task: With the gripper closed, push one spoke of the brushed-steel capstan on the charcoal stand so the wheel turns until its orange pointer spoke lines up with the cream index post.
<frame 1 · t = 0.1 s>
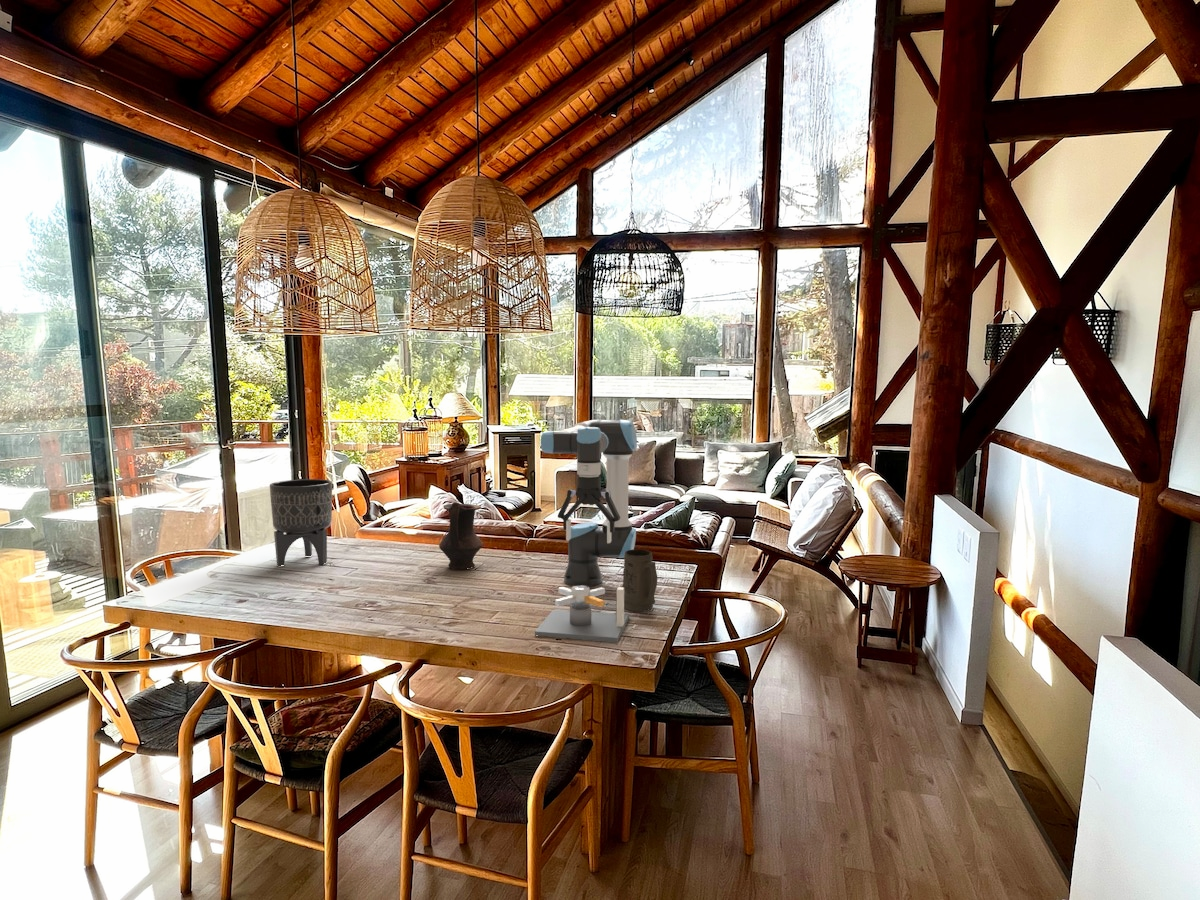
hand: (588, 541, 219), 28 cm above the table, tool pointing down, fingers open, 13 cm apart
capstan: (580, 597, 219), point 10 cm above the table, hinge at -35.0°
beer stein: (642, 608, 239), on the table
jug: (460, 568, 292), on the table
stand: (580, 626, 220), on the table
planter: (304, 562, 300), on the table
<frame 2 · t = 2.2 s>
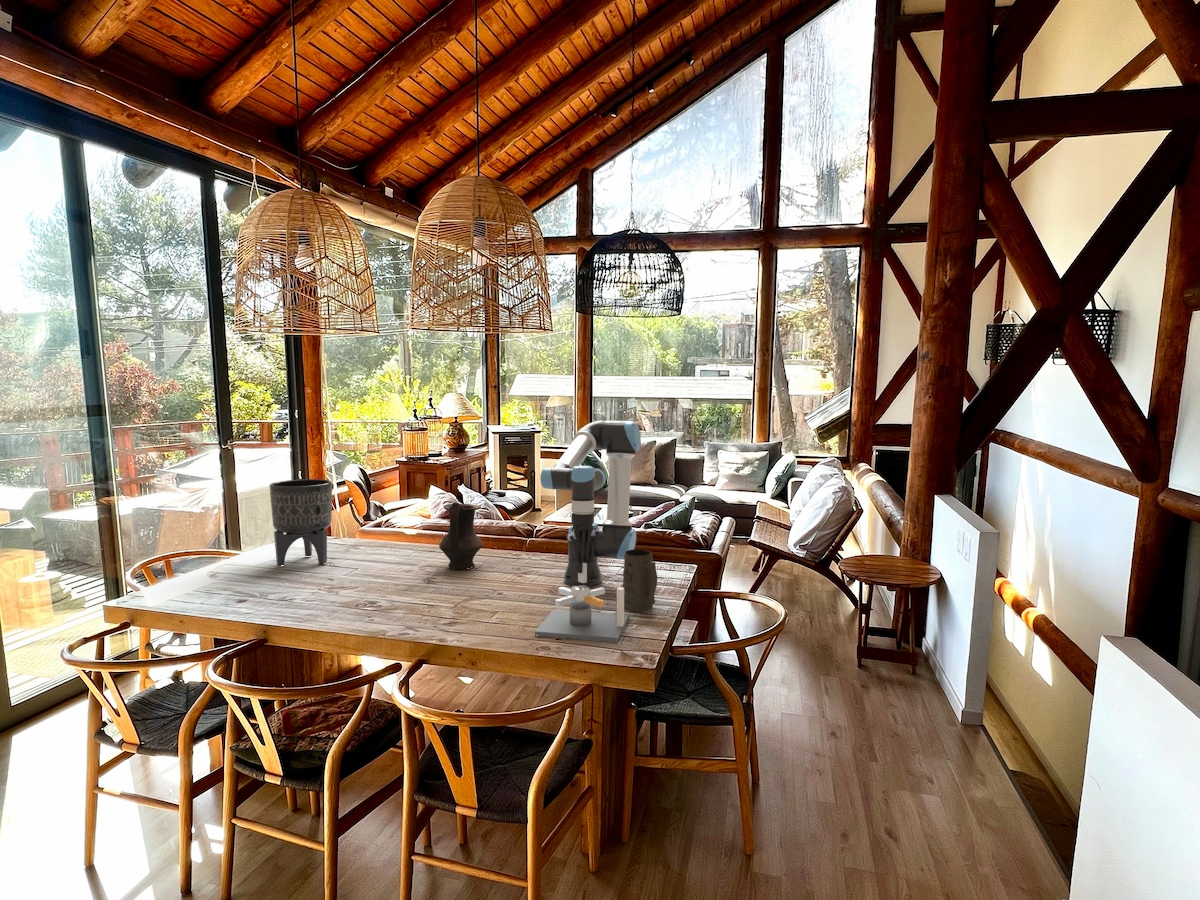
hand: (582, 581, 228), 12 cm above the table, tool pointing down, fingers closed
nothing on the table moved.
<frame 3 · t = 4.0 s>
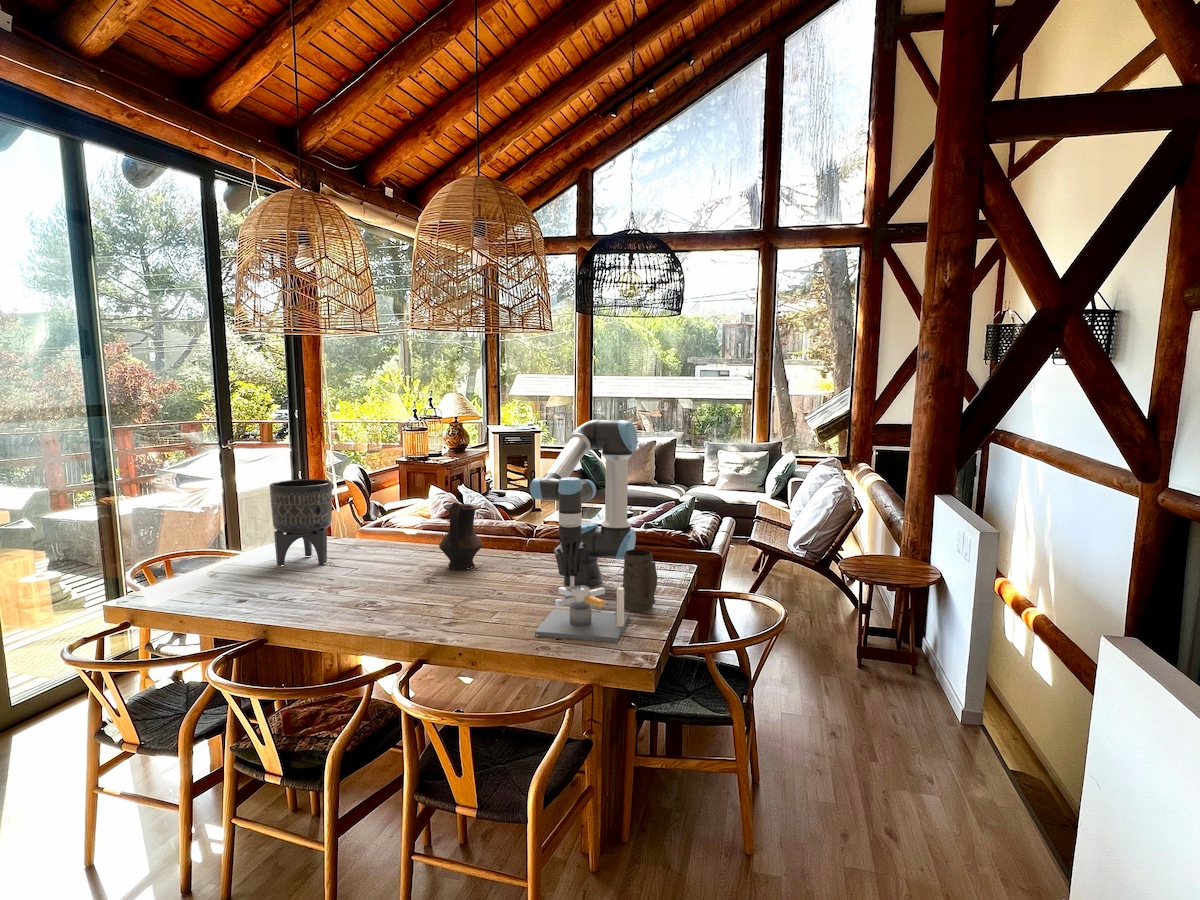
hand: (570, 595, 225), 9 cm above the table, tool pointing down, fingers closed
capstan: (580, 597, 219), point 10 cm above the table, hinge at -35.0°, touching gripper
everything else where it was.
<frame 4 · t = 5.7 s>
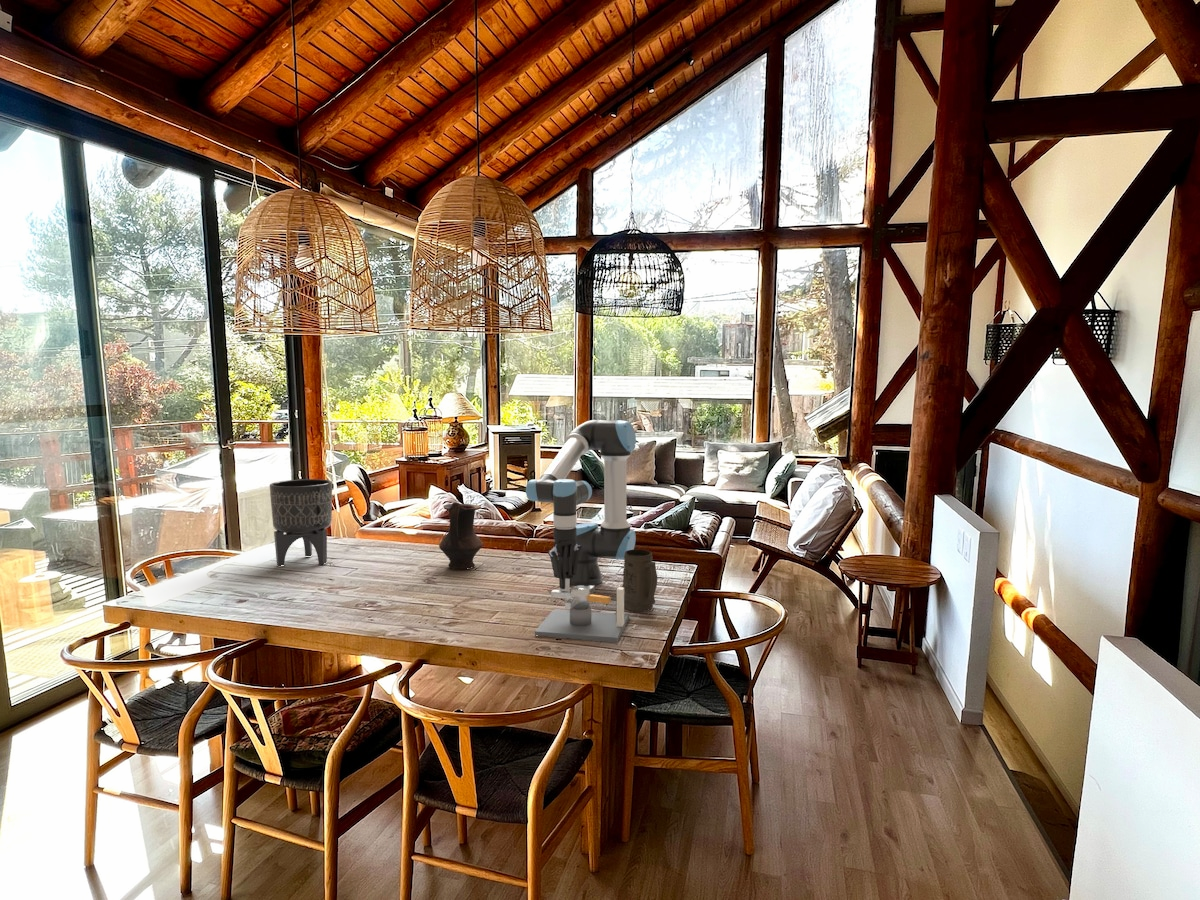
hand: (565, 597, 224), 8 cm above the table, tool pointing down, fingers closed
capstan: (580, 597, 219), point 10 cm above the table, hinge at -10.0°
everything else where it was.
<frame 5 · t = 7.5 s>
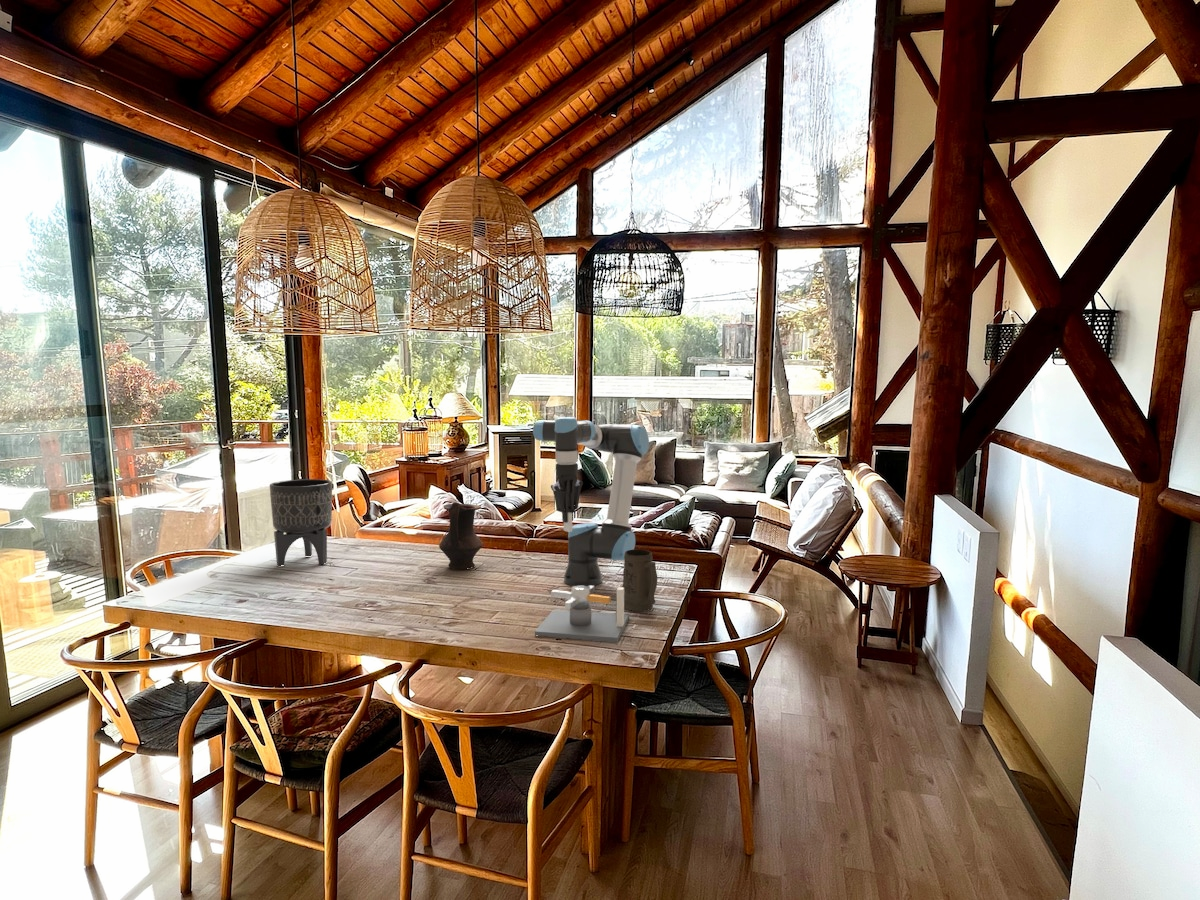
hand: (568, 531, 233), 28 cm above the table, tool pointing down, fingers closed
nothing on the table moved.
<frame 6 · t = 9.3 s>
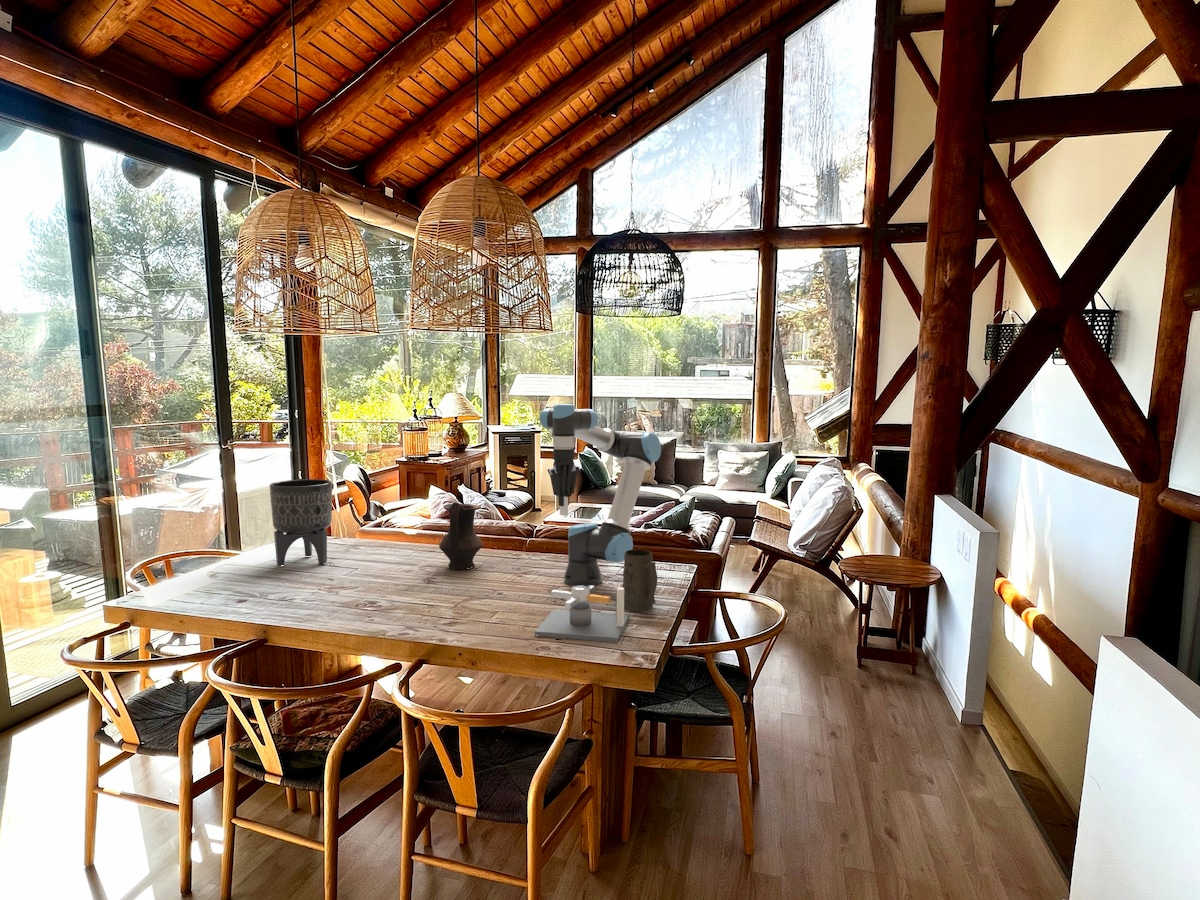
hand: (563, 514, 239), 32 cm above the table, tool pointing down, fingers closed
nothing on the table moved.
at the end: capstan at -10° (first picture: -35°); beer stein moved 0.2 cm from its start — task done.
